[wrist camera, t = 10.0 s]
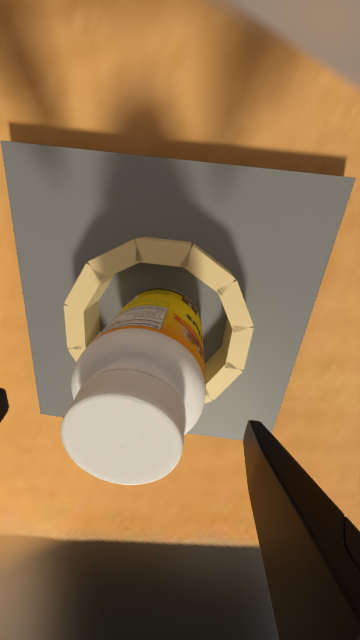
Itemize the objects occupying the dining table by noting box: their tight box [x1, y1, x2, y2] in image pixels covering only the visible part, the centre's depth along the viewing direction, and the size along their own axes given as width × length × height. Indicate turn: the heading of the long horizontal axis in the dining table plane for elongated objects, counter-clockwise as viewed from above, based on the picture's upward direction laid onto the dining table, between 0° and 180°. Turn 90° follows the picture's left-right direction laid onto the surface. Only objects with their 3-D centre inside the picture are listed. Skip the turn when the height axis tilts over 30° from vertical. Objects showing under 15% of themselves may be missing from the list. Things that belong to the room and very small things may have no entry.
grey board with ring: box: [1, 141, 356, 441], centre depth 16 cm, size 20×20×4 cm
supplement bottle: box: [61, 288, 206, 485], centre depth 12 cm, size 6×6×10 cm
